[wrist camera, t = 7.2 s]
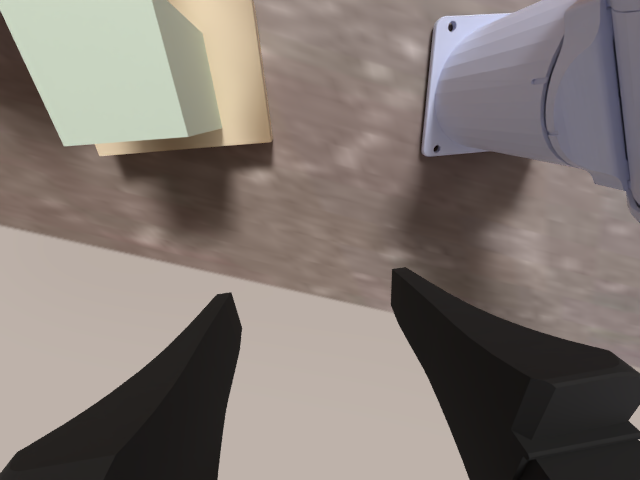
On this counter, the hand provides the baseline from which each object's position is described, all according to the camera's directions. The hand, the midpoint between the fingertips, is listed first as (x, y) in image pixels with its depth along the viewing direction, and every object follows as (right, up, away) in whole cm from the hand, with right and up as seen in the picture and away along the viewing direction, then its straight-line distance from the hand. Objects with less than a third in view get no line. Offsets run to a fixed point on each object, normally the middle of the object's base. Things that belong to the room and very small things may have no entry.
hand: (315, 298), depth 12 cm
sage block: (-8, +11, +3) cm, 14 cm away
